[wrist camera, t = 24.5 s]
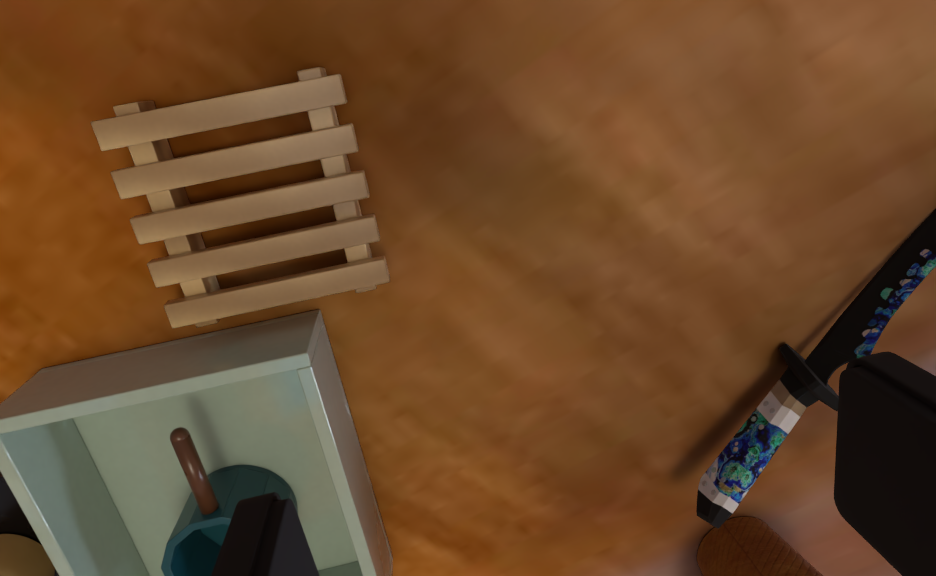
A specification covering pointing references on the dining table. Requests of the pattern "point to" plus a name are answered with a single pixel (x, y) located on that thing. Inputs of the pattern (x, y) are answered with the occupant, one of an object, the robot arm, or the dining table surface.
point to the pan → (211, 507)
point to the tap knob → (23, 557)
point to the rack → (246, 198)
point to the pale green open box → (214, 435)
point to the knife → (814, 376)
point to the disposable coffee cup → (749, 551)
